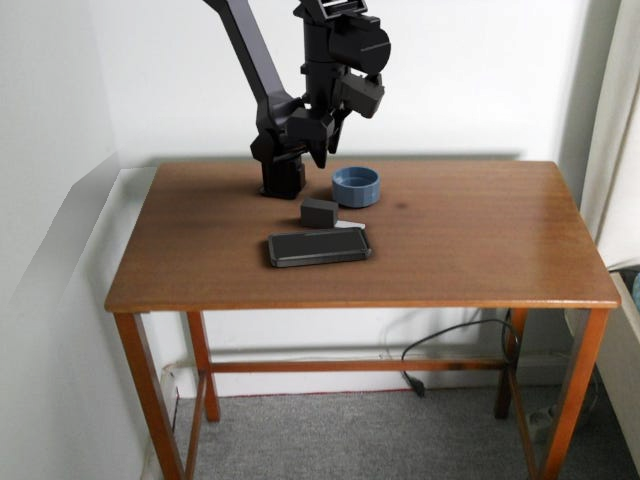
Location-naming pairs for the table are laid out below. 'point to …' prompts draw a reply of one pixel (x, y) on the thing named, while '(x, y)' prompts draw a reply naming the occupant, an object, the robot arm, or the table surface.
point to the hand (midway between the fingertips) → (327, 160)
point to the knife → (323, 215)
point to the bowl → (356, 186)
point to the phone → (318, 246)
